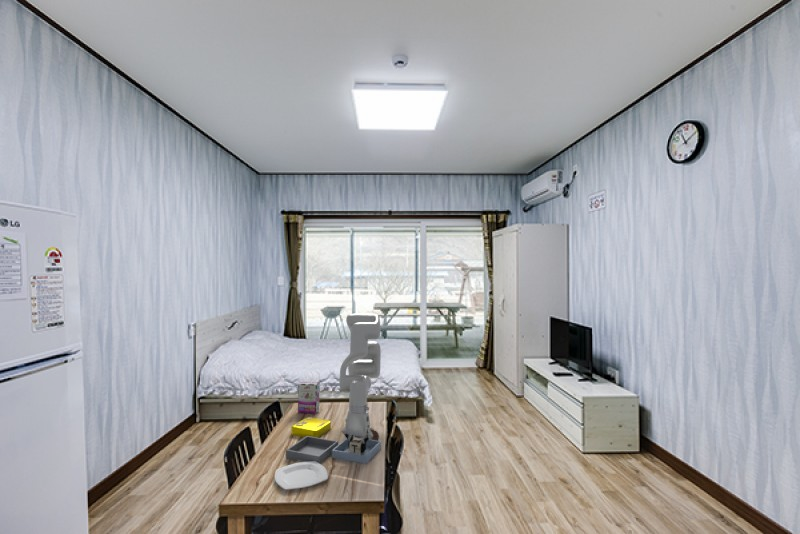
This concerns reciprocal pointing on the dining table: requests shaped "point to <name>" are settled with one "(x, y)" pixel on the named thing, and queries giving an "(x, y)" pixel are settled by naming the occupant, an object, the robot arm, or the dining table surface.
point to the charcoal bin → (311, 449)
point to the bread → (375, 435)
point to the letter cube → (355, 446)
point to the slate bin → (343, 453)
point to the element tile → (311, 427)
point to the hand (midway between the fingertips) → (357, 450)
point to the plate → (300, 475)
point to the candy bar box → (308, 397)
